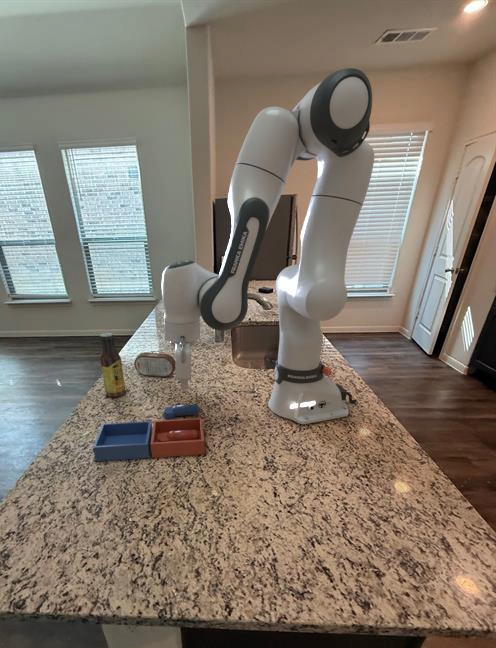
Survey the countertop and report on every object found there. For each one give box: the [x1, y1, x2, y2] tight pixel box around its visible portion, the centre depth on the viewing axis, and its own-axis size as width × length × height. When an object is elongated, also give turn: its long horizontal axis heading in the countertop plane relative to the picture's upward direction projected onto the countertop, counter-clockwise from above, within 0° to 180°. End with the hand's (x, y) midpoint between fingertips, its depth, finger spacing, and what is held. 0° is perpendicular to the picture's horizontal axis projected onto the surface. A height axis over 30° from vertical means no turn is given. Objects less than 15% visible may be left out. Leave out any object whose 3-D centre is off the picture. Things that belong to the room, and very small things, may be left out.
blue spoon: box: [163, 403, 201, 420], centre depth 89 cm, size 10×4×3 cm, turn 94°
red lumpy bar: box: [158, 430, 199, 442], centre depth 77 cm, size 10×4×3 cm, turn 94°
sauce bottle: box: [99, 332, 126, 398], centre depth 97 cm, size 6×6×20 cm
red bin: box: [150, 417, 206, 459], centre depth 77 cm, size 12×10×4 cm
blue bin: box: [92, 420, 153, 462], centre depth 76 cm, size 12×10×4 cm
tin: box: [133, 352, 176, 378], centre depth 111 cm, size 15×3×8 cm, turn 80°
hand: (184, 380), depth 84 cm, fingers open, 8 cm apart
